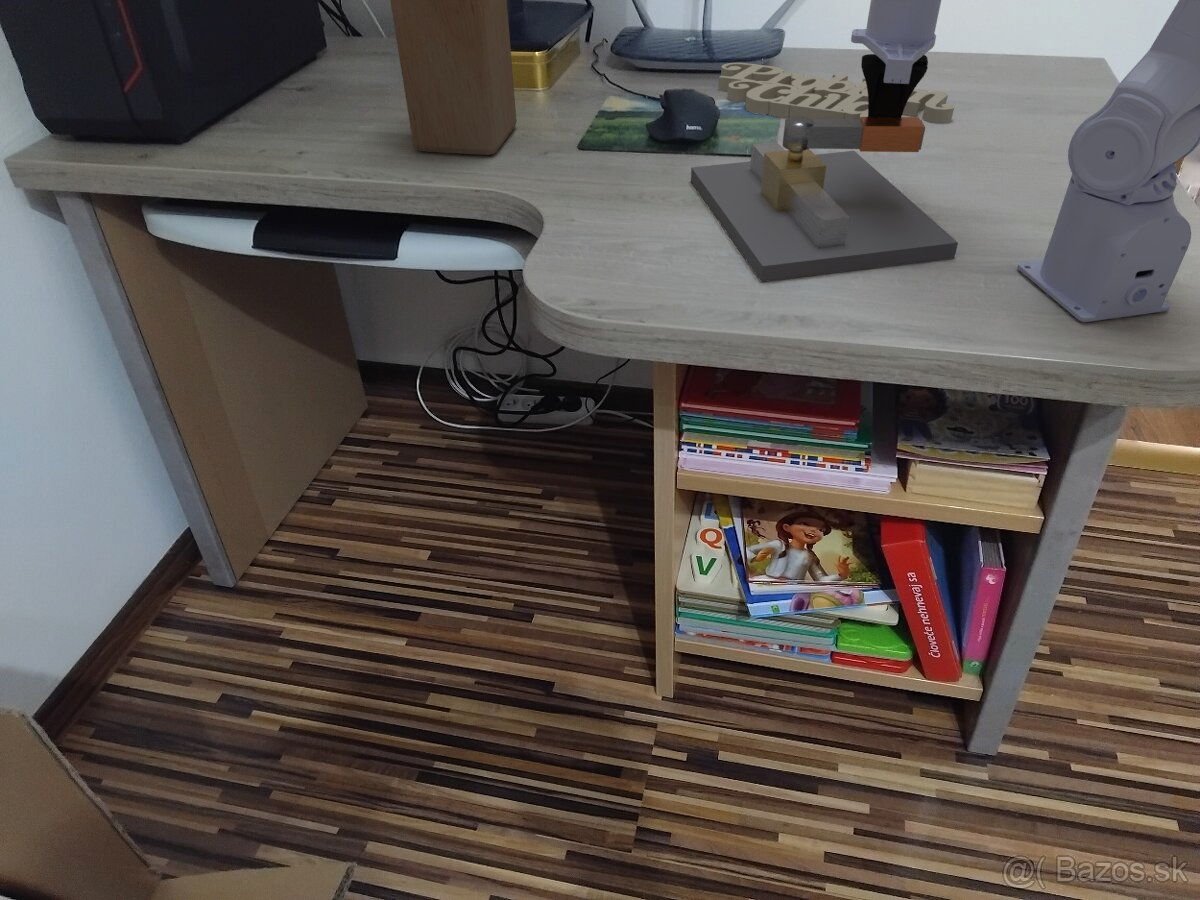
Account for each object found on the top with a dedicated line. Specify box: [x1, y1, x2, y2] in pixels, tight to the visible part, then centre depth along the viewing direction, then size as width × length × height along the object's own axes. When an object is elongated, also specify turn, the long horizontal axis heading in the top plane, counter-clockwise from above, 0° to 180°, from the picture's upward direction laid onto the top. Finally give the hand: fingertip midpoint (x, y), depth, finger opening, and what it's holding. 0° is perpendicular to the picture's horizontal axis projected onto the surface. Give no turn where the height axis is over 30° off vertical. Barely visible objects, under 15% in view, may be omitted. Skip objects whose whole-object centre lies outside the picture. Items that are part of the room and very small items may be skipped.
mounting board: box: [690, 150, 959, 283], centre depth 85 cm, size 22×18×2 cm
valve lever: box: [782, 116, 926, 153], centre depth 80 cm, size 12×3×2 cm, turn 85°
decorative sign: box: [718, 62, 955, 125], centre depth 109 cm, size 31×2×15 cm
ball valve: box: [750, 141, 850, 248], centre depth 83 cm, size 18×4×5 cm, turn 11°
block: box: [389, 0, 517, 156], centre depth 97 cm, size 10×10×20 cm
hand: (880, 139), depth 82 cm, fingers closed, pressing on valve lever
